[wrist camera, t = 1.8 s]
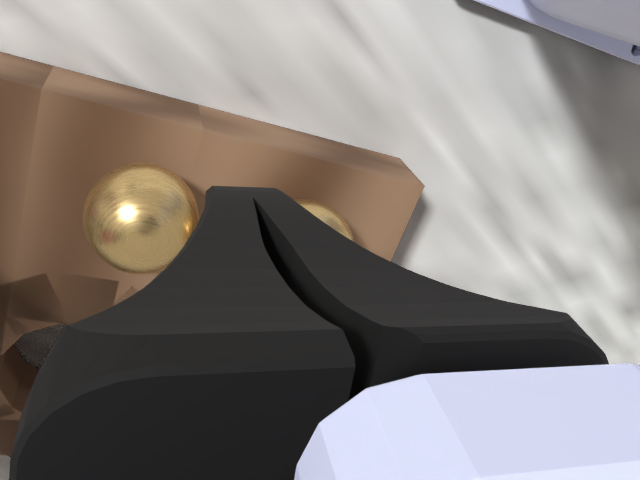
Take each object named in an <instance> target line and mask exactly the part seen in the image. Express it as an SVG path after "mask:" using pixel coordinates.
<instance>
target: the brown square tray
mask: <svg viewBox="0 0 640 480" xmlns="http://www.w3.org/2000/svg"><path fill="white" fill-rule="evenodd" d="M139 162H140V163H151V164H156V165H159V166H162V167H164V168H167V169H168V170H170V171H172V172H174V173H175V174H176V175H178V176H179V177H180V178H181V179H182V180H183V181H184V182H185V183H186V184H187V185H188V187H189V188H190V190H191V191H192V193H193V195H194V197H195V199H196V202H197V206H198V210H199V219H200V217H201V215H202V213H203V211H204V208H205V195H206V190H208V189H209V188H210V187H211V186H234V187H263V188H276V189H278V190H280V191H282V192H283V193H285V194H286V195H288V196H289V197H290V198H292V199H293V200H299V199H310V200H315V201H319V202H322V203H324V204H326V205H328V206H330V207H332V208H333V209H334V210H336V211H337V212H338V213H339V214H340V215H341V216H342V217H343V218H344V220H345V221H346V223H347V224H348V226H349V228H350V231H351V233H352V236H353V240H354V242H355V243H357V244H358V245H360V246H361V247H363V248H365V249H367V250H369V251H370V252H372V253H374V254H376V255H378V256H380V257H382V258H384V259H386V260H388V261H390V262H391V260H392V257H393V255H394V253H395V251H396V248H397V246H398V244H399V242H400V239H401V237H402V235H403V233H404V231H405V228H406V226H407V224H408V222H409V219H410V217H411V215H412V213H413V211H414V208H415V206H416V204H417V202H418V199H419V197H420V195H421V193H422V190H423V188H424V185H423V184H422V182H421V181H420V180H419V179H418V178H417V177H416V176H415V175H414V174H413V173H412V171H411V170H410V169H409V168H408V167H407V166H406V165H405V164H404V163H403V161H402V160H401V159H400V158H396V157H392V156H389V155H385V154H381V153H377V152H374V151H370V150H366V149H362V148H359V147H355V146H351V145H347V144H344V143H340V142H336V141H332V140H329V139H325V138H321V137H317V136H314V135H310V134H306V133H302V132H299V131H295V130H291V129H287V128H284V127H280V126H276V125H272V124H269V123H265V122H261V121H257V120H254V119H250V118H246V117H242V116H239V115H235V114H231V113H227V112H224V111H220V110H216V109H212V108H209V107H205V106H201V105H197V104H194V103H190V102H186V101H182V100H179V99H175V98H171V97H167V96H164V95H160V94H156V93H152V92H149V91H145V90H141V89H137V88H134V87H130V86H126V85H122V84H119V83H115V82H111V81H107V80H104V79H100V78H96V77H92V76H89V75H85V74H81V73H77V72H74V71H70V70H66V69H62V68H59V67H55V66H51V65H47V64H44V63H40V62H36V61H32V60H29V59H25V58H21V57H17V56H14V55H10V54H6V53H2V52H0V455H7V456H10V457H11V452H12V448H13V444H14V440H15V436H16V432H17V428H18V424H19V420H20V417H21V413H22V410H23V407H24V405H25V402H26V399H27V397H28V394H29V392H30V390H31V388H32V385H33V383H34V381H35V378H36V376H37V374H38V372H39V369H38V368H36V367H34V366H32V365H30V364H29V363H27V362H25V361H24V360H23V358H22V356H21V355H20V353H19V351H18V350H17V348H16V346H15V345H14V343H15V342H16V341H17V340H18V339H19V338H20V337H21V336H22V335H24V334H25V333H29V332H32V331H36V330H40V329H43V328H47V327H50V326H54V325H57V324H68V325H70V324H73V323H75V322H78V321H80V320H83V319H85V318H87V317H90V316H92V315H95V314H97V313H99V312H102V311H104V310H106V309H108V308H110V307H112V306H114V305H116V304H118V303H120V302H122V301H123V300H125V299H127V298H129V297H130V296H132V295H134V294H135V293H137V292H138V291H140V290H141V289H143V288H144V287H145V286H146V285H148V284H149V283H150V282H151V281H152V280H153V279H154V278H155V277H157V276H158V275H159V274H160V273H161V272H162V271H160V272H157V273H153V274H130V273H126V272H123V271H120V270H117V269H115V268H113V267H111V266H110V265H108V264H107V263H105V262H104V261H103V260H102V259H100V258H99V257H98V255H97V254H96V253H95V252H94V251H93V249H92V248H91V246H90V244H89V242H88V241H87V238H86V235H85V232H84V227H83V208H84V204H85V201H86V198H87V196H88V194H89V192H90V190H91V189H92V187H93V186H94V184H95V183H96V182H97V181H98V180H99V179H100V178H101V177H102V176H103V175H104V174H106V173H107V172H109V171H111V170H112V169H115V168H117V167H119V166H122V165H125V164H130V163H139Z"/></svg>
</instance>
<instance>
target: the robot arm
mask: <svg viewBox="0 0 640 480" xmlns="http://www.w3.org/2000/svg"><path fill="white" fill-rule="evenodd" d="M474 1H476V2H479V3H481V4H484V5H486V6H489V7H491V8H494V9H496V10H499V11H502V12H504V13H507V14H509V15H512V16H514V17H517V18H519V19H522V20H525V21H527V22H530V23H532V24H535V25H537V26H540V27H542V28H545V29H547V30H550V31H553V32H555V33H558V34H560V35H563V36H565V37H568V38H570V39H573V40H575V41H578V42H581V43H583V44H586V45H588V46H591V47H593V48H596V49H598V50H601V51H603V52H606V53H609V54H611V55H614V56H616V57H619V58H621V59H624V60H626V61H629V62H632V63H634V64H637V65H639V66H640V0H474ZM633 45H637V47H636V49H635V50H634V52H632V53H631V50H632V47H633ZM9 480H640V365H637V364H633V363H625V364H609V363H608V360H607V357H606V355H605V353H604V352H603V351H602V350H601V349H600V348H599V347H598V345H597V344H596V343H595V342H594V341H593V340H592V339H591V338H590V337H589V336H588V335H587V334H586V333H585V332H584V331H583V329H582V328H581V327H580V326H579V325H578V324H577V323H576V322H575V321H574V320H573V319H572V318H571V317H570V316H569V315H568V314H567V313H563V312H558V311H553V310H547V309H542V308H537V307H532V306H526V305H521V304H516V303H511V302H506V301H502V300H498V299H494V298H490V297H487V296H483V295H479V294H476V293H472V292H468V291H465V290H462V289H459V288H455V287H452V286H449V285H446V284H443V283H441V282H438V281H435V280H433V279H430V278H427V277H425V276H422V275H419V274H417V273H414V272H412V271H410V270H407V269H405V268H403V267H400V266H398V265H396V264H394V263H392V262H390V261H388V260H386V259H384V258H382V257H380V256H378V255H376V254H374V253H372V252H370V251H369V250H367V249H365V248H363V247H361V246H360V245H358V244H357V243H355V242H353V241H352V240H350V239H348V238H347V237H345V236H344V235H342V234H340V233H339V232H337V231H336V230H334V229H333V228H331V227H330V226H329V225H327V224H326V223H324V222H323V221H321V220H320V219H319V218H317V217H316V216H315V215H313V214H312V213H310V212H309V211H308V210H306V209H305V208H304V207H302V206H301V205H300V204H298V203H297V202H296V201H294V200H293V199H292V198H290V197H289V196H288V195H286V194H285V193H283V192H282V191H280V190H278V189H276V188H263V187H234V186H211V187H210V188H209V189H208V190H206V195H205V208H204V211H203V213H202V215H201V217H200V219H199V222H198V224H197V226H196V228H195V229H194V231H193V233H192V234H191V236H190V237H189V239H188V240H187V242H186V243H185V245H184V247H183V248H182V249H181V251H180V252H179V253H178V254H177V256H176V257H175V258H174V259H173V260H172V262H171V263H170V264H169V265H168V266H167V267H166V268H165V269H164V270H163V271H162V272H161V273H160V274H159V275H158V276H157V277H155V278H154V279H153V280H152V281H151V282H150V283H149V284H148V285H146V286H145V287H144V288H143V289H141V290H140V291H138V292H137V293H135V294H134V295H132V296H130V297H129V298H127V299H125V300H123V301H122V302H120V303H118V304H116V305H114V306H112V307H110V308H108V309H106V310H104V311H102V312H99V313H97V314H95V315H92V316H90V317H87V318H85V319H83V320H80V321H78V322H75V323H73V324H70V325H67V326H66V327H65V328H63V329H62V331H61V332H60V334H59V336H58V337H57V339H56V341H55V342H54V344H53V346H52V348H51V349H50V351H49V353H48V355H47V357H46V358H45V360H44V362H43V364H42V366H41V368H40V370H39V372H38V374H37V376H36V378H35V381H34V383H33V385H32V388H31V390H30V392H29V394H28V397H27V399H26V402H25V405H24V407H23V410H22V413H21V417H20V420H19V424H18V428H17V432H16V436H15V440H14V444H13V448H12V452H11V461H10V476H9Z"/></svg>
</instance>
